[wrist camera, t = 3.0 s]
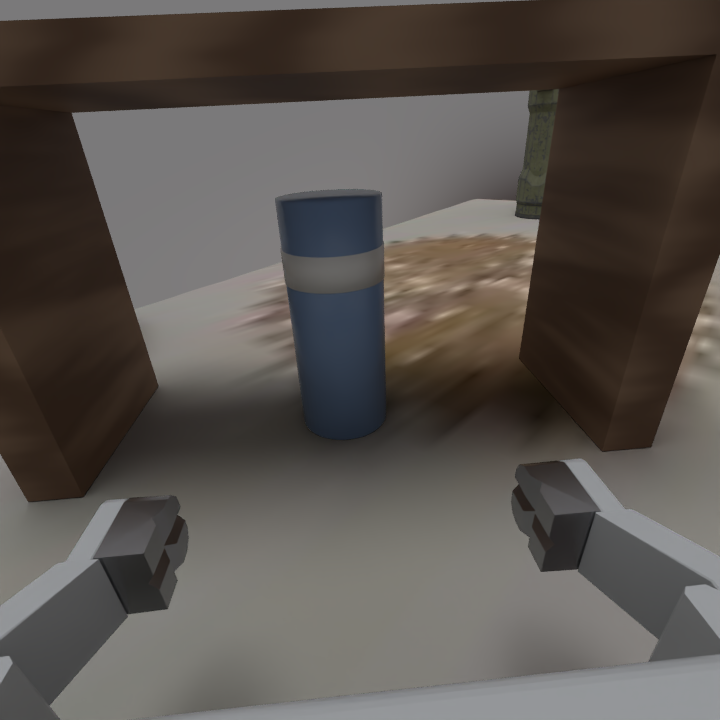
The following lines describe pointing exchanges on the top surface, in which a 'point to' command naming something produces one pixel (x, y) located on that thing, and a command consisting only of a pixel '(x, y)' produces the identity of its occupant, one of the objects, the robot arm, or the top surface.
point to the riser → (363, 80)
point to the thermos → (536, 153)
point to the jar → (336, 306)
